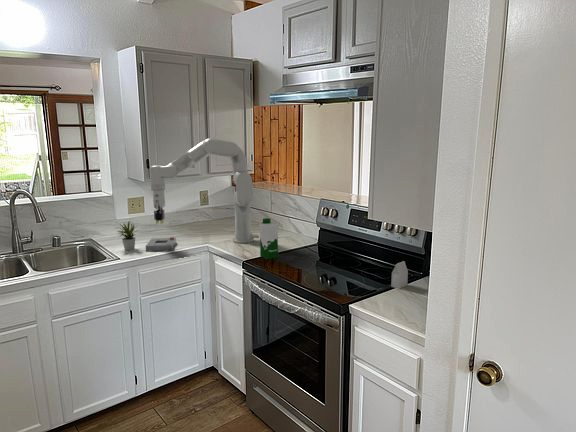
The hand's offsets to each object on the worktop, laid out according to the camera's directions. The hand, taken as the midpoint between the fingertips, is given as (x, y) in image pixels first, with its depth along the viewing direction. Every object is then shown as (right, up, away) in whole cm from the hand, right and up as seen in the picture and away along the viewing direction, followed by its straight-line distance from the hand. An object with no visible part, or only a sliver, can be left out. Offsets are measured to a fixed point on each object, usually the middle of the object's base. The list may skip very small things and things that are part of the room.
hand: (159, 219), depth 244 cm
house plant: (-17, -17, -1) cm, 24 cm away
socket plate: (0, -16, +3) cm, 16 cm away
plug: (0, -2, 0) cm, 2 cm away
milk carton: (+63, -20, -20) cm, 69 cm away
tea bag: (+120, -28, -64) cm, 138 cm away
